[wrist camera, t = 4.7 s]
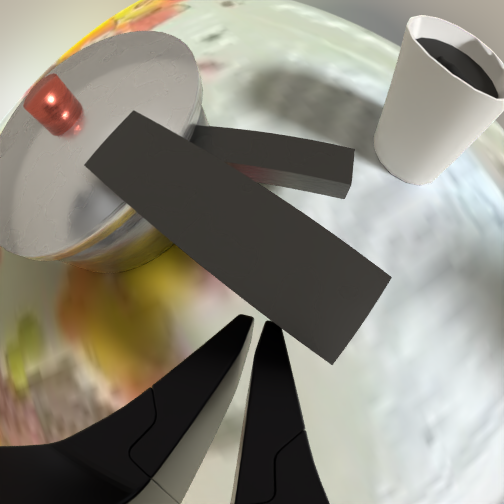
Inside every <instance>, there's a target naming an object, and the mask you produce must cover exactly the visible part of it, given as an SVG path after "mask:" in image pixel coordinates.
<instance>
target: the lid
mask: <svg viewBox="0 0 504 504" xmlns="http://www.w3.org/2000/svg"><path fill="white" fill-rule="evenodd" d="M202 96H203V87H202V80H201V76H200V73H199V70H198V67H197V64H196V61H195V58H194V56H193V53H192V52H191V50H190V49H189V47H188V46H187V45H186V44H185V43H184V42H182V41H181V40H180V39H178V38H176V37H174V36H172V35H169V34H166V33H162V32H156V31H137V32H129V33H124V34H120V35H116V36H113V37H109V38H106V39H104V40H101V41H99V42H96V43H94V44H92V45H90V46H88V47H86V48H84V49H82V50H81V51H79V52H77V53H75V54H74V55H72V56H71V57H69V58H68V59H66V60H65V61H63V62H62V63H61V64H59V65H58V66H57V67H55V68H54V69H53V70H52V71H51V72H49V73H48V74H47V75H46V76H45V77H44V78H43V79H42V80H40V81H39V82H38V83H37V84H36V85H35V86H34V87H33V88H32V89H31V91H30V92H29V93H28V95H27V96H26V97H25V98H24V99H23V101H22V102H21V103H20V105H19V106H18V107H17V109H16V110H15V111H14V113H13V114H12V116H11V118H10V119H9V121H8V122H7V124H6V126H5V128H4V130H3V131H2V133H1V135H0V246H1V247H3V248H4V249H6V250H7V251H9V252H11V253H14V254H17V255H19V256H22V257H25V258H28V259H31V260H37V261H52V260H59V259H63V258H66V257H70V256H73V255H75V254H77V253H79V252H81V251H84V250H86V249H88V248H90V247H91V246H93V245H94V244H96V243H98V242H99V241H101V240H103V239H104V238H106V237H107V236H108V235H110V234H111V233H112V232H113V231H115V230H116V229H117V228H119V227H120V226H121V225H123V224H124V223H125V222H126V221H127V220H128V219H129V218H130V217H131V216H132V215H133V214H134V213H136V212H137V213H138V214H140V215H141V216H142V217H143V218H144V219H145V220H147V221H148V222H149V223H150V224H151V225H153V226H154V227H155V228H156V229H157V230H158V231H160V232H161V233H162V234H163V235H164V236H166V237H167V238H168V239H169V240H170V241H172V242H173V243H174V244H175V245H176V246H178V247H179V248H180V249H181V250H183V251H184V252H185V253H186V254H187V255H189V256H190V257H191V258H192V259H194V260H195V261H196V262H197V263H198V264H200V265H201V266H202V267H203V268H205V269H206V270H207V271H208V272H210V273H211V274H212V275H213V276H215V277H216V278H217V279H218V280H220V281H221V282H222V283H223V284H225V285H226V286H227V287H229V288H230V289H231V290H232V291H234V292H235V293H236V294H237V295H239V296H240V297H241V298H243V299H244V300H245V301H247V302H248V303H249V304H250V305H252V306H253V307H254V308H256V309H257V310H258V311H260V312H261V313H262V314H263V315H265V316H266V317H267V318H269V319H270V320H271V321H273V322H274V323H275V324H277V325H278V326H279V327H281V328H282V329H283V330H285V331H286V332H287V333H289V334H290V335H291V336H293V337H294V338H296V339H297V340H298V341H300V342H301V343H302V344H304V345H305V346H306V347H308V348H309V349H311V350H312V351H313V352H315V353H316V354H317V355H319V356H320V357H322V358H323V359H324V360H326V361H327V362H329V363H330V364H331V365H333V363H334V362H335V361H336V359H337V358H338V357H339V355H340V354H341V353H342V351H343V350H344V349H345V347H346V346H347V345H348V343H349V342H350V340H351V339H352V338H353V336H354V335H355V333H356V332H357V330H358V329H359V328H360V326H361V325H362V323H363V322H364V320H365V319H366V317H367V316H368V314H369V313H370V311H371V310H372V308H373V307H374V305H375V304H376V302H377V300H378V299H379V297H380V296H381V294H382V292H383V291H384V289H385V288H386V286H387V284H388V283H389V281H390V279H391V278H392V277H391V276H389V275H388V274H387V273H385V272H384V271H383V270H381V269H380V268H379V267H377V266H376V265H375V264H373V263H372V262H371V261H369V260H368V259H367V258H365V257H364V256H363V255H361V254H360V253H359V252H357V251H356V250H355V249H353V248H352V247H351V246H349V245H348V244H346V243H345V242H344V241H342V240H341V239H339V238H338V237H337V236H335V235H334V234H332V233H331V232H330V231H328V230H327V229H325V228H324V227H322V226H321V225H320V224H318V223H317V222H315V221H314V220H312V219H311V218H310V217H308V216H307V215H305V214H304V213H302V212H301V211H299V210H298V209H296V208H295V207H293V206H292V205H290V204H289V203H287V202H286V201H284V200H283V199H281V198H280V197H278V196H277V195H275V194H274V193H272V192H271V191H269V190H268V189H266V188H265V187H263V186H261V185H260V184H258V183H257V182H255V181H254V180H252V179H251V178H249V177H247V176H246V175H244V174H243V173H241V172H239V171H238V170H236V169H235V168H233V167H231V166H230V165H228V164H227V163H225V162H223V161H222V160H220V159H218V158H217V157H215V156H213V155H212V154H210V153H208V152H207V151H205V150H203V149H202V148H200V147H198V146H197V145H195V144H193V143H192V142H190V141H189V140H190V138H191V137H192V134H193V132H194V129H195V126H196V124H197V121H198V119H199V114H200V110H201V106H202Z"/></svg>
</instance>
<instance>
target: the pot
mask: <svg viewBox="0 0 504 504" xmlns="http://www.w3.org/2000/svg"><path fill="white" fill-rule="evenodd" d="M189 141H190V142H192V143H193V144H195V145H197V146H198V147H200V148H202V149H203V150H205V151H207V152H208V153H210V154H212V155H213V156H215V157H217V158H218V159H220V160H222V161H223V162H225V163H227V164H228V165H230V166H231V167H233V168H235V169H236V170H238V171H239V172H241V173H243V174H244V175H246V176H247V177H249V178H251V179H252V180H254V181H255V182H259V183H265V184H271V185H276V186H282V187H287V188H293V189H298V190H303V191H308V192H313V193H318V194H322V195H327V196H332V197H336V198H341V199H345V197H346V195H347V193H348V191H349V189H350V187H351V182H352V173H353V162H354V151H355V149H352V148H347V147H343V146H338V145H334V144H329V143H324V142H319V141H314V140H308V139H303V138H297V137H291V136H285V135H279V134H272V133H265V132H258V131H250V130H242V129H233V128H223V127H213V126H209V123H208V120H207V118H206V115H205V112H204V110H203V107H202V106H201V110H200V114H199V119H198V121H197V124H196V126H195V129H194V132H193V134H192V137H191V138H190V140H189ZM173 244H174V243H173V242H172V241H170V240H169V239H168V238H167V237H166V236H164V235H163V234H162V233H161V232H160V231H158V230H157V229H156V228H155V227H154V226H153V225H151V224H150V223H149V222H148V221H147V220H145V219H144V218H143V217H142V216H141V215H140V214H138V213H137V212H136V213H134V214H133V215H132V216H131V217H130V218H129V219H128V220H127V221H126V222H125V223H124V224H123V225H121V226H120V227H119V228H117V229H116V230H115V231H113V232H112V233H111V234H110V235H108V236H107V237H106V238H104V239H103V240H101V241H99V242H98V243H96V244H94V245H93V246H91V247H90V248H88V249H86V250H84V251H81V252H79V253H77V254H75V255H73V256H70V257H66V258H63V259H59V261H62V262H65V263H68V264H71V265H74V266H77V267H80V268H82V269H85V270H89V271H93V272H97V273H117V272H123V271H127V270H131V269H134V268H136V267H139V266H141V265H144V264H146V263H148V262H149V261H151V260H153V259H155V258H156V257H158V256H159V255H161V254H162V253H163V252H165V251H166V250H167V249H169V248H170V247H171V246H172V245H173Z"/></svg>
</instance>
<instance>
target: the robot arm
mask: <svg viewBox="0 0 504 504" xmlns="http://www.w3.org/2000/svg"><path fill="white" fill-rule="evenodd" d="M253 325H254V318H253V317H251V316H247V315H243V314H240V315H238V316H237V317H236V318H234V319H233V320H232V321H231V322H230V323H229V324H227V325H226V326H225V327H224V328H223V329H221V330H220V331H219V332H218V333H217V334H215V335H214V336H213V337H212V338H211V339H209V340H208V341H207V342H206V343H205V344H203V345H202V346H201V347H200V348H198V349H197V350H196V351H195V352H194V353H192V354H191V355H190V356H189V357H187V358H186V359H185V360H184V361H182V362H181V363H180V364H179V365H178V366H176V367H175V368H174V369H173V370H171V371H170V372H169V373H168V374H166V375H165V376H164V377H162V378H161V379H160V380H159V381H157V382H156V383H155V384H154V385H152V388H151V387H150V388H148V389H147V390H146V391H144V392H143V393H142V394H141V395H139V396H138V397H137V398H135V399H134V400H132V401H131V402H130V403H128V404H127V405H125V406H124V407H122V408H121V409H119V410H117V411H116V412H114V413H112V414H111V415H109V416H107V417H106V418H104V419H102V420H100V421H98V422H97V423H95V424H93V425H91V426H89V427H87V428H86V429H84V430H82V431H80V432H78V433H76V434H74V435H72V436H70V437H68V438H66V439H64V440H61V441H58V442H54V443H50V444H42V445H27V446H0V504H181V502H182V500H183V498H184V496H185V494H186V492H187V490H188V488H189V487H190V485H191V483H192V481H193V479H194V477H195V475H196V473H197V471H198V469H199V467H200V465H201V463H202V461H203V459H204V457H205V455H206V453H207V451H208V449H209V447H210V445H211V443H212V441H213V439H214V436H215V434H216V432H217V430H218V428H219V426H220V424H221V422H222V420H223V418H224V416H225V413H226V411H227V409H228V407H229V405H230V403H231V401H232V398H233V396H234V394H235V391H236V389H237V386H238V383H239V380H240V377H241V374H242V370H243V367H244V363H245V360H246V357H247V353H248V350H249V346H250V343H251V338H252V332H253ZM304 429H305V424H304V420H303V416H302V412H301V407H300V403H299V399H298V394H297V390H296V386H295V382H294V378H293V373H292V369H291V365H290V361H289V357H288V352H287V348H286V344H285V340H284V336H283V332H282V328H281V327H279V326H278V325H277V324H275V323H274V322H273V321H266V322H265V324H264V327H263V330H262V333H261V336H260V339H259V342H258V345H257V348H256V351H255V355H254V361H253V366H252V372H251V378H250V383H249V389H248V394H247V400H246V407H245V414H244V420H243V427H242V434H241V440H240V447H239V453H238V460H237V466H236V472H235V479H234V485H233V491H232V497H231V503H230V504H330V503H329V501H328V498H327V496H326V493H325V491H324V488H323V486H322V483H321V481H320V478H319V475H318V472H317V469H316V466H315V463H314V460H313V456H312V453H311V449H310V445H309V441H308V437H307V432H306V430H304Z"/></svg>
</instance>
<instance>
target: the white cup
mask: <svg viewBox="0 0 504 504" xmlns="http://www.w3.org/2000/svg"><path fill="white" fill-rule="evenodd" d="M503 111H504V63H503V62H502V61H501V60H500V59H499V57H498V56H497V55H496V54H495V53H494V52H493V51H492V50H491V49H490V48H489V47H488V46H486V45H485V44H484V43H483V42H482V41H480V40H479V39H478V38H477V37H475V36H474V35H472V34H471V33H469V32H467V31H466V30H464V29H462V28H461V27H459V26H457V25H455V24H453V23H450V22H448V21H445V20H443V19H440V18H436V17H431V16H425V15H420V16H415V17H411V18H410V20H409V22H408V24H407V26H406V30H405V34H404V38H403V42H402V46H401V49H400V53H399V57H398V60H397V64H396V67H395V71H394V74H393V78H392V81H391V85H390V88H389V91H388V94H387V98H386V101H385V104H384V107H383V110H382V113H381V116H380V119H379V122H378V125H377V128H376V131H375V134H374V149H375V152H376V154H377V156H378V158H379V160H380V162H381V163H382V164H383V165H384V166H385V167H386V169H387V170H388V171H389V172H390V173H391V174H392V175H394V176H396V177H397V178H399V179H401V180H402V181H404V182H406V183H411V184H415V185H424V184H429V183H432V182H433V181H434V180H435V179H436V178H437V177H438V176H439V175H440V174H441V173H442V172H443V171H444V170H446V169H447V168H448V167H449V166H450V165H451V164H452V163H453V162H454V161H455V160H456V159H457V158H458V157H459V156H460V155H461V154H462V153H463V152H464V151H465V150H466V149H467V148H468V147H469V146H470V145H471V144H472V143H473V142H474V141H475V140H476V139H477V138H478V137H479V136H480V135H481V134H482V133H483V132H484V131H485V130H486V129H487V128H488V127H489V126H490V125H491V124H492V123H493V122H494V121H495V120H496V118H497V117H498V116H499V115H500V114H501V113H502V112H503Z"/></svg>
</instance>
